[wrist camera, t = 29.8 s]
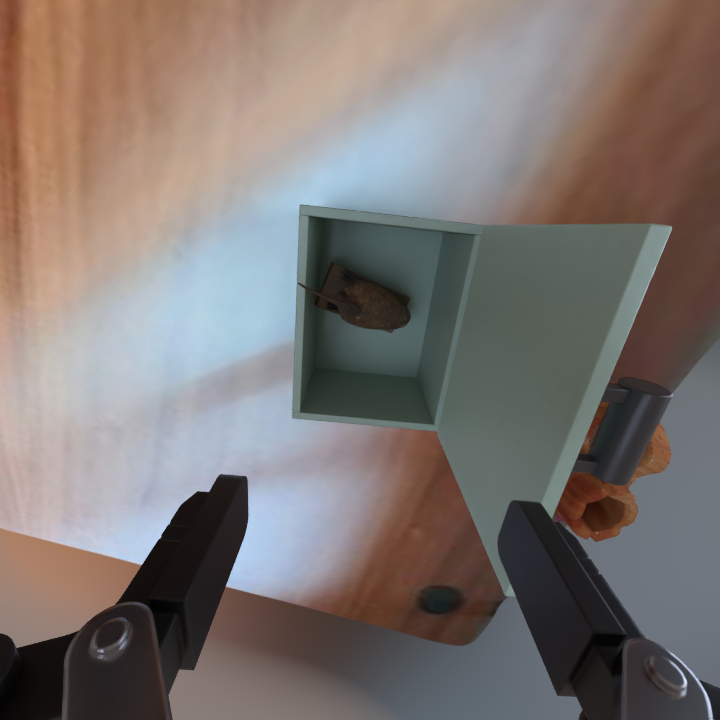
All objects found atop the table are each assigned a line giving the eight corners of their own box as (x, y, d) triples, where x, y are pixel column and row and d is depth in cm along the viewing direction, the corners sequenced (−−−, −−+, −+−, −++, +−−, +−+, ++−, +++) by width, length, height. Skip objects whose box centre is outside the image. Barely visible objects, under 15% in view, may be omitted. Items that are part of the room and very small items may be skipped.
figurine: (272, 289, 31) (295, 322, 24) (290, 243, 30) (319, 263, 23) (389, 331, 38) (432, 366, 31) (407, 295, 37) (456, 322, 30)
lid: (504, 596, 17) (607, 601, 18) (651, 223, 11) (808, 242, 11) (436, 434, 31) (495, 438, 31) (483, 225, 24) (557, 233, 25)
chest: (309, 370, 41) (292, 418, 31) (317, 211, 35) (299, 204, 24) (420, 381, 42) (440, 431, 31) (449, 226, 35) (486, 225, 25)
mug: (542, 466, 47) (620, 568, 33) (488, 450, 46) (545, 548, 32) (602, 374, 41) (725, 449, 27) (544, 354, 40) (641, 421, 26)
